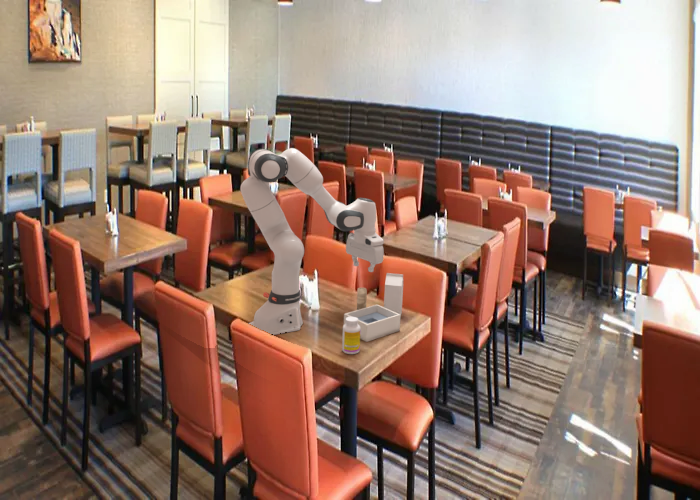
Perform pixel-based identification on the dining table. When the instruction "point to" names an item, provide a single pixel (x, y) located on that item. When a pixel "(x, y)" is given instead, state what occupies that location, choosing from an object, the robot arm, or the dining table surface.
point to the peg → (361, 298)
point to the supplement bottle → (351, 336)
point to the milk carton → (393, 292)
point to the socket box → (375, 321)
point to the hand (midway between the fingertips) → (363, 268)
